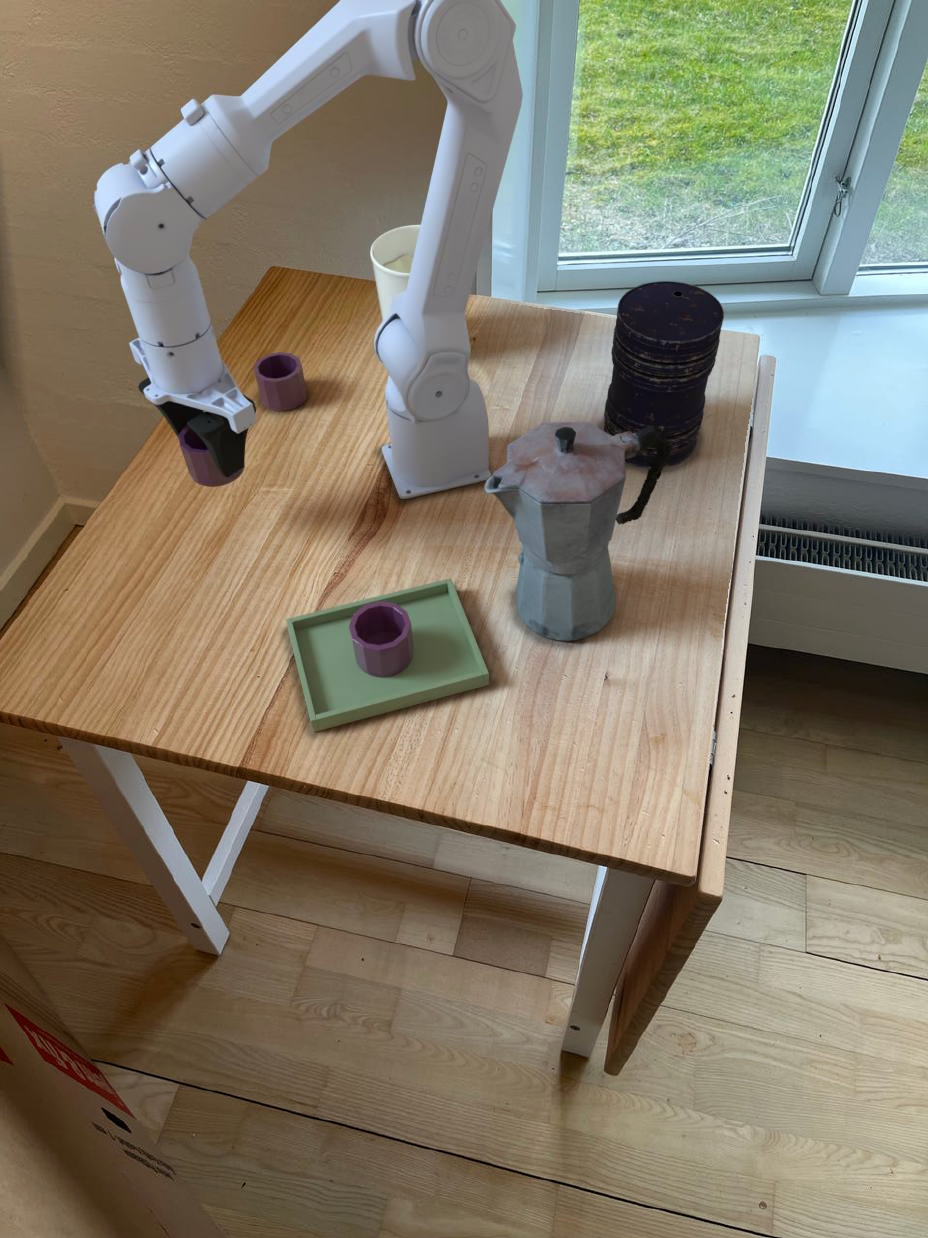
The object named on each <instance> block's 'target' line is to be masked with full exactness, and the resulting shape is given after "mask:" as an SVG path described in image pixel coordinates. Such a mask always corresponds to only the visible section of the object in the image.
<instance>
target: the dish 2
mask: <svg viewBox="0 0 928 1238" xmlns="http://www.w3.org/2000/svg"><path fill="white" fill-rule="evenodd" d="M349 631H350V636H351V641H352V646H353V651H354V655H355V659H356V662H357V665H358V666H359V668H360V669H361V670H362V671H364V672H365V673H367V674H369V675H371V676H374V677H390V676H394V675H397V674H399V673H400V672H402V671H403V670H405V669H406V668H407V667H408V665H409V664H410V663H411V661H412V658H413V650H414V644H413V635H412V626H411V621H410V619H409V616H408V613H407V611H405V610H404V609H403V608H401V607H400V606H398V605H397V604H395V603H389V602H383V601H379V602H375V603H371V604H367V605H364V606H363V607H362V608H361V609H359V610H358V611H357V612H356V613H354V614H353V617H352V619H351V622H350V625H349Z"/></svg>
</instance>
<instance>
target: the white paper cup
mask: <svg viewBox="0 0 928 1238" xmlns="http://www.w3.org/2000/svg"><path fill="white" fill-rule="evenodd" d="M420 226H421V224H411V225H404V226H399V227H396V228H393V229H391V230H387V231H386V232H384V233H382V234H381V235H380V236H378V237H377V238H376V239H375V240H374V241H373V243H372V244H371V246H370V252H369V254H370V255H369V256H370V259H371V264H372V268H373V275H374V280H375V285H376V287H375V288H376V292H377V298H378V304H379V309H380V314H381V315H380V317H381V321H382V322H383V321H384V319H385V318H386V316H387V315H388V313H389V311H390V308H391V304H392V299H393V297H394V296H395V295H397V294H399V293H402V292H404V291H406V289H407V285H408V280H409V276H410V271H411V267H412V262H413V258H414V253H415V249H416V244H417V240H418V235H419V231H420ZM382 322H381V323H382Z"/></svg>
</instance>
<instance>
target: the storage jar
mask: <svg viewBox="0 0 928 1238" xmlns="http://www.w3.org/2000/svg"><path fill="white" fill-rule="evenodd" d="M724 318H725V310H724V307H723V305H722V304H721V302H720V301H719V299H717V297H716V296H714V295H713V294H712V293H710V292H709V291H707V290H705V289H703V288H701V287H699V286H696V285H694V284H690V283H686V282H682V281H681V282H680V281H673V280H671V281H669V280H659V281H651V282H646V283H642V284H640V285H637V286H634V287H633V288H631V289H629V290H628V291H626V292H625V293H624V294H623V295H622V296H621V298H620V299H619V301H618V304H617V312H616V319H615V326H614V328H613V335H612V347H611V362H612V366H613V367H612V373H611V382H610V384H609V386H608V389H607V396H606V401H605V404H604V411H603V412H604V413H603V416H604V417H603V419H604V421H603V422H604V423H603V429H602V430H603V431H605V432H606V433H608V434H610V435H612V436H615V435H616V434H620V433H624V432H627V431H631V432H632V433H636V432H637V431H639V430H641V429H644V428H647V427H649V426H653V427H654V429H655V430H656V431H659V434H660V436H661V435H663V436H665V437H666V440H668V441H670V442H671V444H672V446H673V449H672V451H671V455H670V456H669V459H668V460H667V461H666V463H665V466H664V468H671V467H673V466H676V465H678V464H681V463H682V462H684V461H686V460H687V459H688V458H690V457H691V455H692V454H693V453H694V451H695V449H696V446H697V442H698V436H699V433H700V430H701V428H702V424H703V420H704V416H705V413H704V409H705V405H706V389H707V385H708V380H709V376H710V375H711V374H712V371H713V369H714V367H715V363H716V357H717V355H718V350H719V346H720V342H721V341H720V339H721V338H720V336H721V332H722V327H723V323H724V320H725V319H724ZM656 453H657V450H656V449H655V448H654V447H649V448H646V449H644V450H643V451H641V452H640V453H639V454H638V455H636V456H634V457H631V458H628V459H625V464H629V465H631V466H634V467H636V468H637V467H639V468H642V469H643V468H644V469H650V468H651V467H649V465H650V462H651V461H652V460H653V458H654V457H655V455H656ZM664 468H663V469H664Z"/></svg>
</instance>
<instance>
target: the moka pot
mask: <svg viewBox="0 0 928 1238" xmlns="http://www.w3.org/2000/svg"><path fill="white" fill-rule="evenodd" d="M649 447H654V448H655V449H656V450H657V453H656V455H655V457H654V458H653V460H652V461H651V462H650V465H649V467H651V468H648V471H647V474H646V478H645V479H644V482H643V484H642V487H641V489H640V493H639V494H638V496H637V498H636V500H635V502H634V503H633V505H632V506H631V507H630V508H629V509H628V510H625V511H623V512H619V509H620V504H621V500H622V496H623V491H624V487H625V483H626V479H627V472H626V471H627V470H626V462H625V459H628V458H631V457H634V456H636V455H638V454H639V453H640V452H641V451H643V450H644V449H646V448H649ZM506 449H507V450H506V463H505V464H503V465H502V466H501V467H499V468H497V469H496V470H495V471H493V473H492V474H491V477H490V478H489V479H488V480H486V481H485V483H484V486H483V489H484V491H485V493H486V494H487V495H490V494H491V495H494V496H495V498H496V499H497V500H498V501H499V503H500V504H501V505H502V506H503V508H504V509H505V511H506V512H507V513H508V515H510V516H511V518H512V519H513V521H514V524H515V529H516V533H517V537H518V541H519V542H520V543H521V552H520V553H519V554H518V555H517V556H518V557H517V559H518V563H519V567H518V576H517V582H516V583H517V584H516V589H515V591H516V592H515V593H516V606H517V612H518V617H519V618H520V620H521V621H522V622H523V623H524V624H525V625H526V626H527V627H528V628H529V629H530V630H531V631H533V632H534V633H536V634H537V635H540V636H541V637H544V638H546V639H550V640H557V641H563V642H565V641H567V642H570V641H571V642H572V641H577V640H580V639H584V638H587V637H589V636H591V635H595V634H597V633H598V632H600V631H601V630H602V629H603V628H604V627H605V626H607V624H608V623H609V622H610V620H611V618H612V616H613V614H614V612H615V610H616V608H617V600H616V593H615V586H614V585H615V584H614V580H613V579H614V577H613V571H612V562H611V556H610V551H609V544H610V542H611V541H612V539H613V534H614V529H615V525H616V523H617V524H618V525H619V526H621V525H624V524H626V523H628V522H632V521H636V520H639V519H640V518H642V516H643V512H644V511H645V508H646V506H647V505H648V503H649V501H650V499H651V495H652V494H653V491H654V490H655V488H656V486H657V484H658V480H659V479H660V477H661V476H662V472H663V470H664V466H665V463H666V461H667V460H668V459H669V456H670V455H671V451H672V449H673V446H672V444H671V442H670V441H668V440H666V437H665V436H663V435H661V436H660V434H659V431H656V430H655V429H654V427H653V426H649V427H647V428H644V429H641V430H639V431H637V432H636V433H632V432H631V431H627V432H624V433H620V434H616V435H615V436H612V435H610V434H608V433H606V432H605V431H603V429H601V428H600V427H598V426H596V425H595V424H593V423H592V422H590V421H562V422H561V421H559V422H558V421H557V422H552V421H551V422H542V423H539V424H538V425H536V426H535V427H533V428H532V429H530V430H529V431H527V432H526V433H524V434H523V435H521V436H519V437H518V438H516V439H515V440H513V441H512V442H510V443H509V444H508V445H507V448H506ZM618 512H619V513H618Z"/></svg>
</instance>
